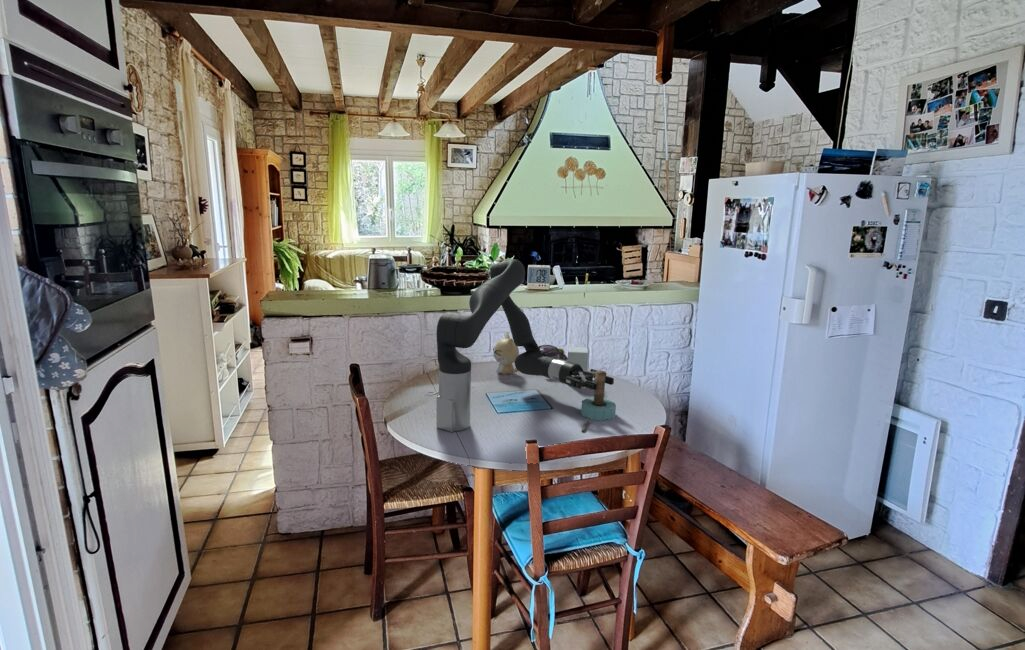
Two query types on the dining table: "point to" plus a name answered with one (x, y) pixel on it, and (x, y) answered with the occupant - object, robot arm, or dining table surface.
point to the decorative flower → (553, 352)
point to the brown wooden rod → (599, 388)
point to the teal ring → (598, 409)
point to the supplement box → (578, 356)
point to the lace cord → (585, 426)
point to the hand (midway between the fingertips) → (605, 384)
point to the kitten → (506, 355)
